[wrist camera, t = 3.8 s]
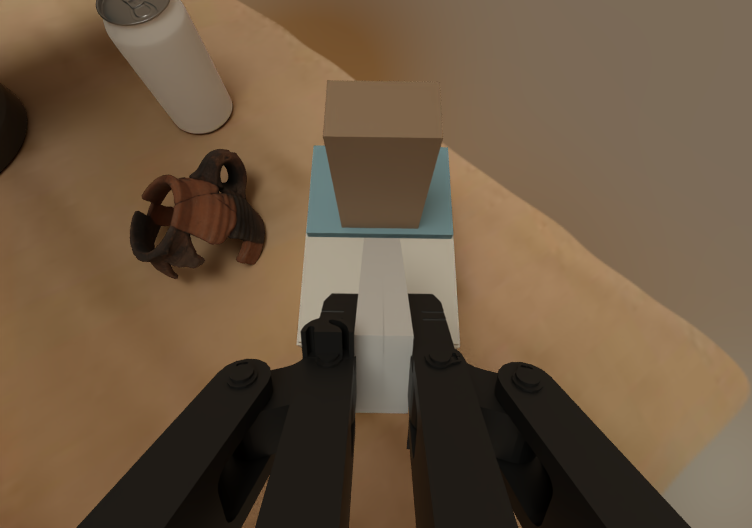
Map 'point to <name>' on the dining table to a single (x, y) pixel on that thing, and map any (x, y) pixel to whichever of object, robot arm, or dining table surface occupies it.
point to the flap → (381, 163)
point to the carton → (343, 267)
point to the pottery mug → (197, 215)
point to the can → (169, 60)
